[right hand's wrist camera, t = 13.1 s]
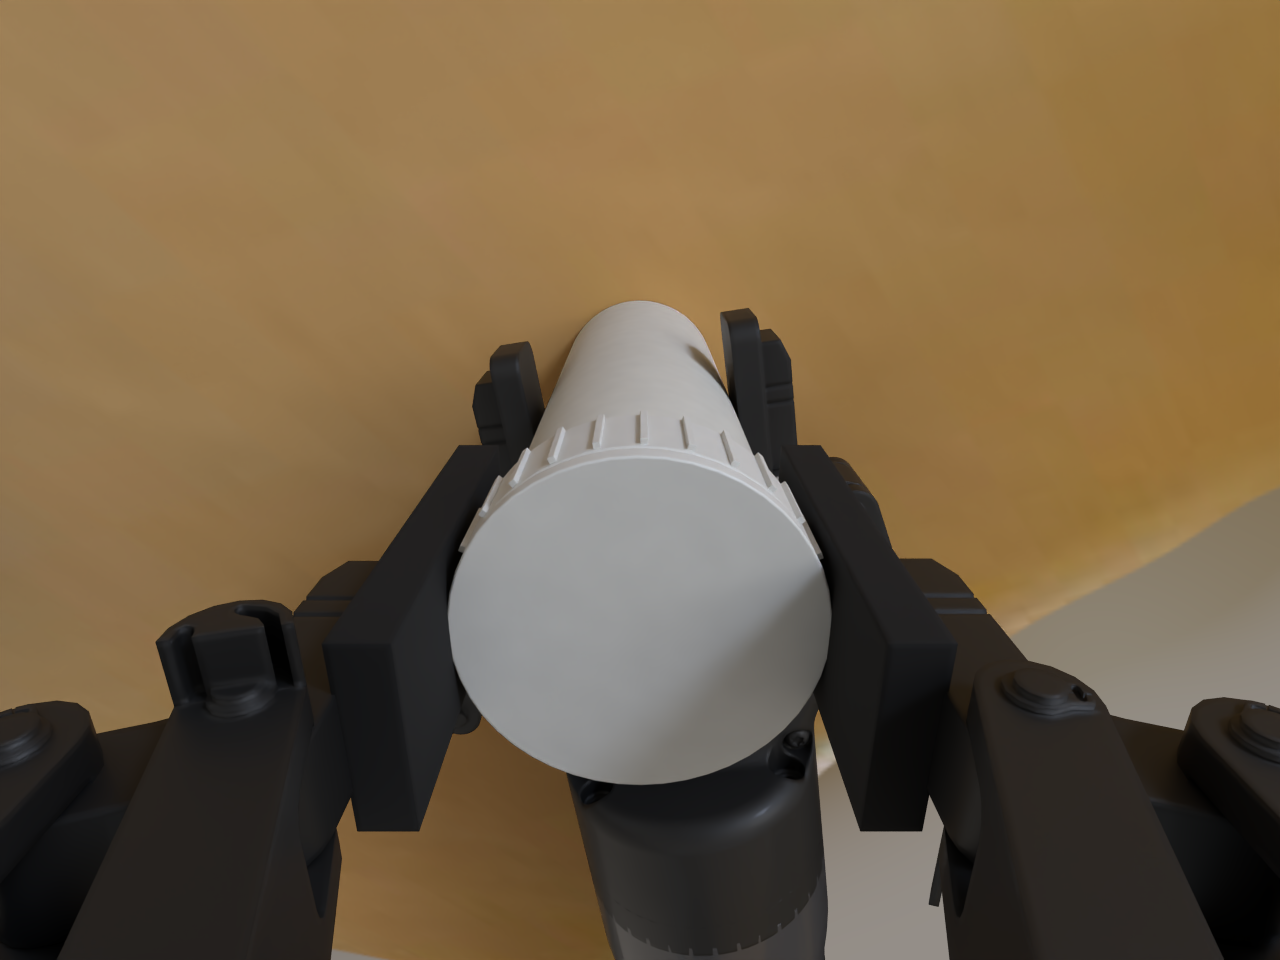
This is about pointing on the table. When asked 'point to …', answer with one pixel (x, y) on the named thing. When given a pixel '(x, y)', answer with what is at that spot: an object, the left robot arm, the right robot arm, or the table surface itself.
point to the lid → (639, 602)
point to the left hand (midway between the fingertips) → (622, 335)
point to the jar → (639, 373)
